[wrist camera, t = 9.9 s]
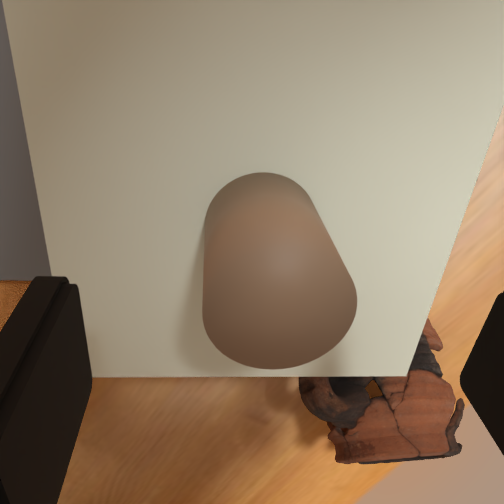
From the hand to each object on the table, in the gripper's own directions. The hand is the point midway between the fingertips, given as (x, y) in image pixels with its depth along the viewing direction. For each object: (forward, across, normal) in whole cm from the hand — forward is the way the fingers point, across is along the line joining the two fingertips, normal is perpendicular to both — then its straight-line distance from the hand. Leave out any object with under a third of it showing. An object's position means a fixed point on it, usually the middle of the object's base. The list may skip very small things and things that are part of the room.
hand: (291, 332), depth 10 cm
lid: (+7, 0, +1) cm, 8 cm away
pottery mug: (+14, -9, +14) cm, 21 cm away
